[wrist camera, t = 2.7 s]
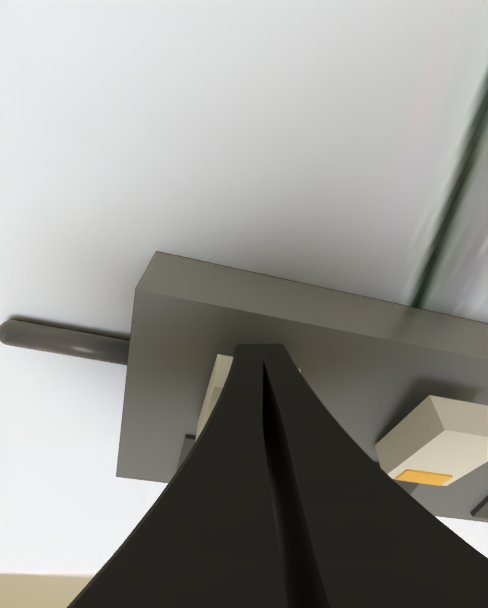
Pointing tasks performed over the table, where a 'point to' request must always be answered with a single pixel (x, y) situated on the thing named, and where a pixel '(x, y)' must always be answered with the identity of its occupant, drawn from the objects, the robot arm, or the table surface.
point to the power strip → (302, 349)
